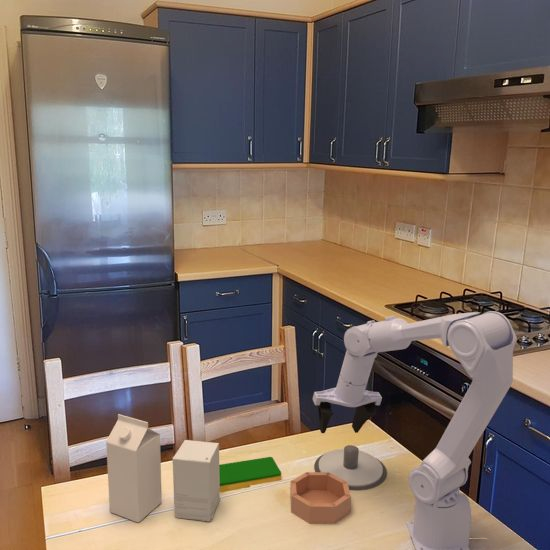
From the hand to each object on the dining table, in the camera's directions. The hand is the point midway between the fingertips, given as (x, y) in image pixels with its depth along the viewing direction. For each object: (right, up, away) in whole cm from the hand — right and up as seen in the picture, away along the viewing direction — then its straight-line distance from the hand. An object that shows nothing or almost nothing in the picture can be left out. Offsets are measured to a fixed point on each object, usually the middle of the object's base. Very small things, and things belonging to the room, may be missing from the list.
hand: (338, 429), depth 118 cm
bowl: (-5, -13, -8) cm, 16 cm away
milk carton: (-41, -13, -9) cm, 44 cm away
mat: (+3, -10, +5) cm, 12 cm away
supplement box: (-29, -13, -9) cm, 33 cm away
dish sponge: (-20, -11, +2) cm, 23 cm away
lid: (+3, -10, +5) cm, 12 cm away
